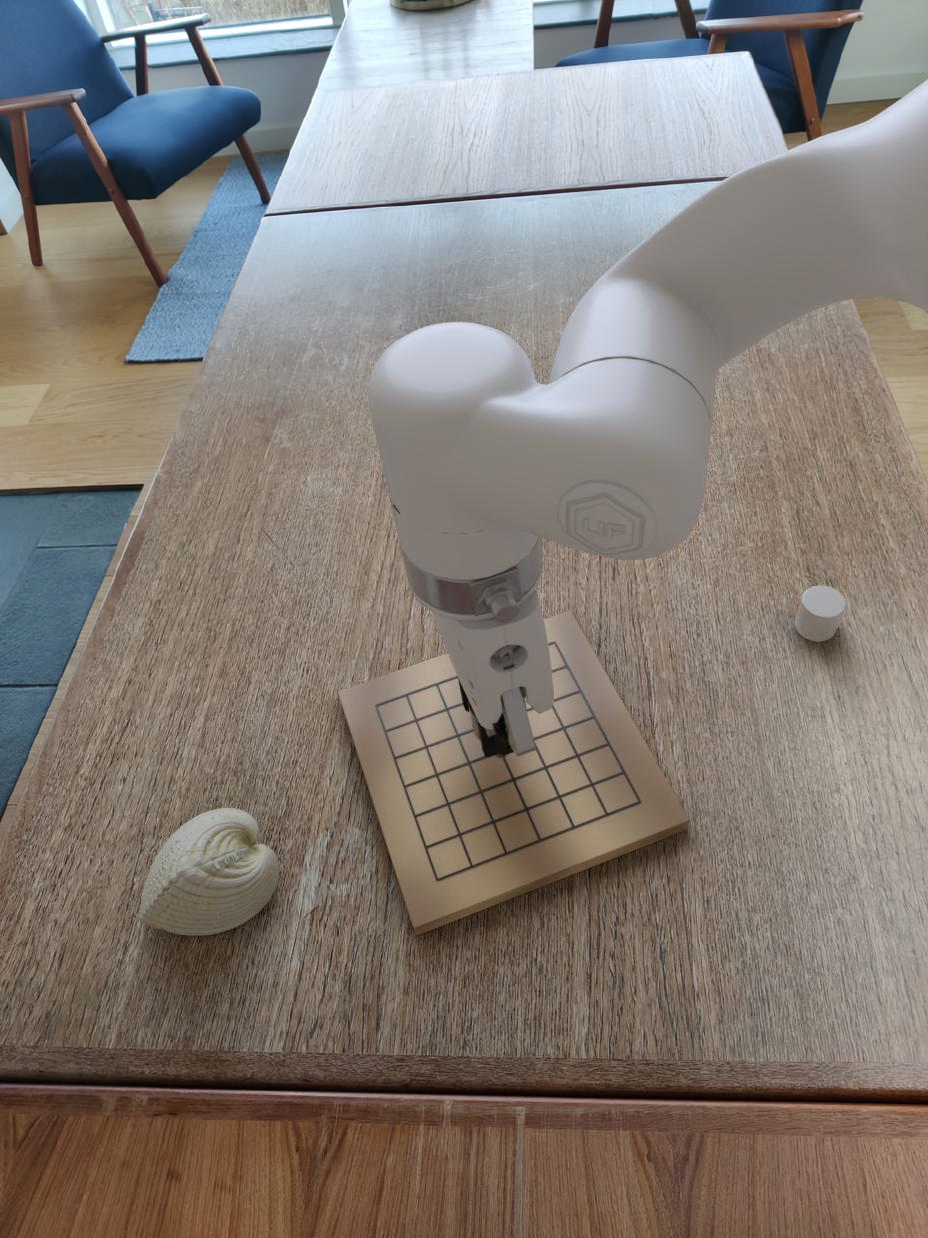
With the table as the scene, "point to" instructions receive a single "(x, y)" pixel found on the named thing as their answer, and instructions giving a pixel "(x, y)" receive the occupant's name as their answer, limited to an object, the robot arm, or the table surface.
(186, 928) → the seashell
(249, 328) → the table surface
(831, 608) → the grey cylinder
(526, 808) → the board
